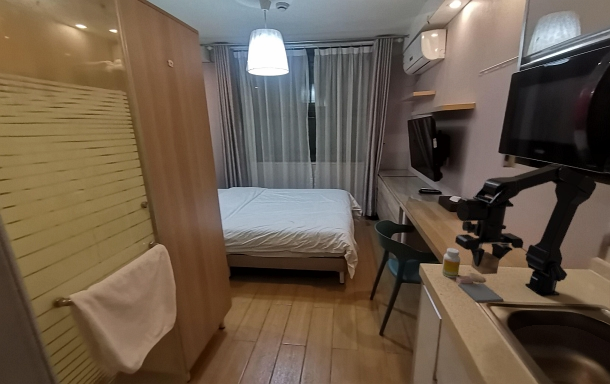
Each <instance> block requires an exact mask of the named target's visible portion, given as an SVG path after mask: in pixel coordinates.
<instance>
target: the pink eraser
mask: <svg viewBox="0 0 610 384" xmlns="http://www.w3.org/2000/svg"><path fill="white" fill-rule="evenodd" d="M455 283H457V284H474V281H473V278H472V277H470V276H466V275H464V276H463V275H462V276H457V277H455Z"/></svg>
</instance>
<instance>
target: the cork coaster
mask: <svg viewBox="0 0 610 384" xmlns="http://www.w3.org/2000/svg"><path fill="white" fill-rule="evenodd" d="M465 276H470V277H472V278H473V282H475V283H485V282H486V278H485V277H484V276H483V275H482V274H478V273H475V272H468V273H466V274H465Z"/></svg>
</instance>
